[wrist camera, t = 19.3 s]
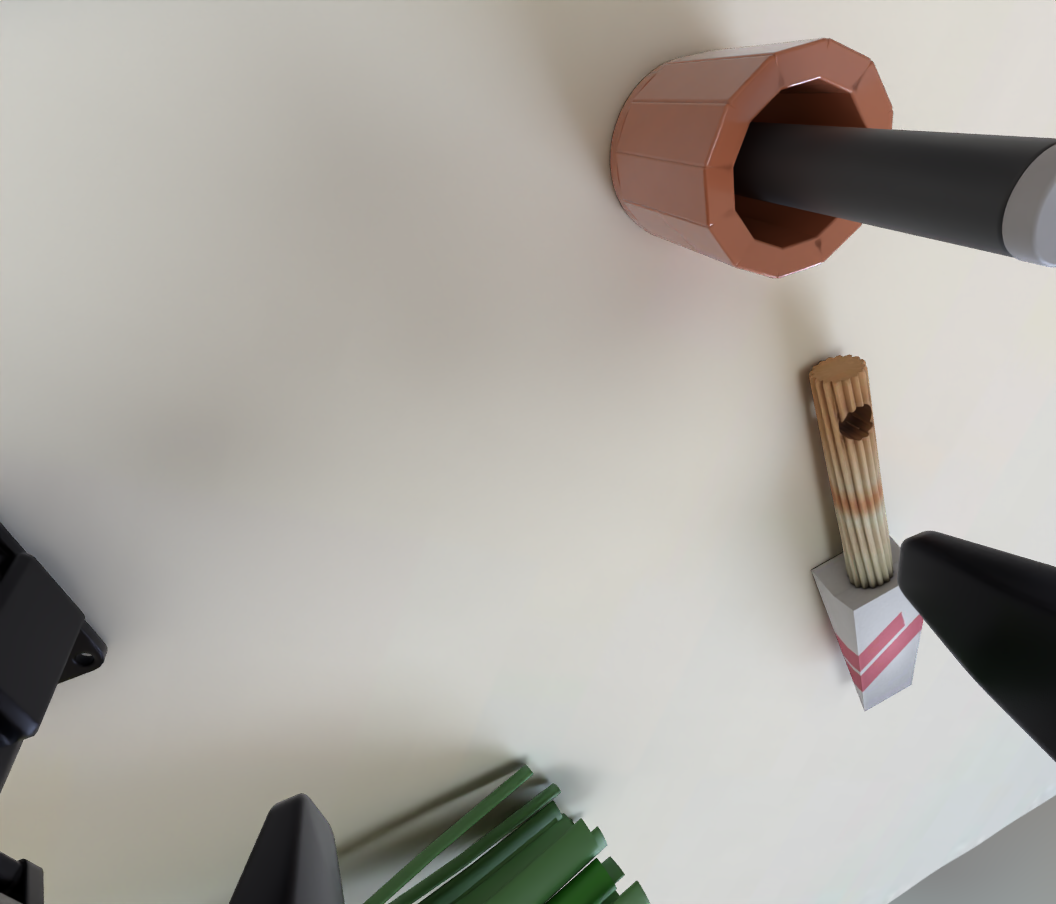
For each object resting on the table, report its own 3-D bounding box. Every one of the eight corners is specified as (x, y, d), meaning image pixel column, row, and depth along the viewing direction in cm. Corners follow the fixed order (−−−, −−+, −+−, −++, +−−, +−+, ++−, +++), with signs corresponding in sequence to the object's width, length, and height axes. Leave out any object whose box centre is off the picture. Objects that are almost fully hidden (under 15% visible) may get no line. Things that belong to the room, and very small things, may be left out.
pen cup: (621, 256, 19) (713, 301, 15) (596, 80, 16) (697, 75, 12) (759, 211, 19) (884, 243, 15) (755, 35, 17) (902, 15, 13)
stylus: (668, 191, 18) (1022, 282, 9) (661, 127, 17) (1047, 159, 8) (720, 174, 18) (1117, 248, 9) (716, 111, 17) (1150, 125, 8)
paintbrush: (876, 741, 31) (817, 406, 21) (837, 697, 33) (767, 378, 23) (944, 703, 31) (919, 353, 21) (901, 662, 34) (859, 330, 23)
